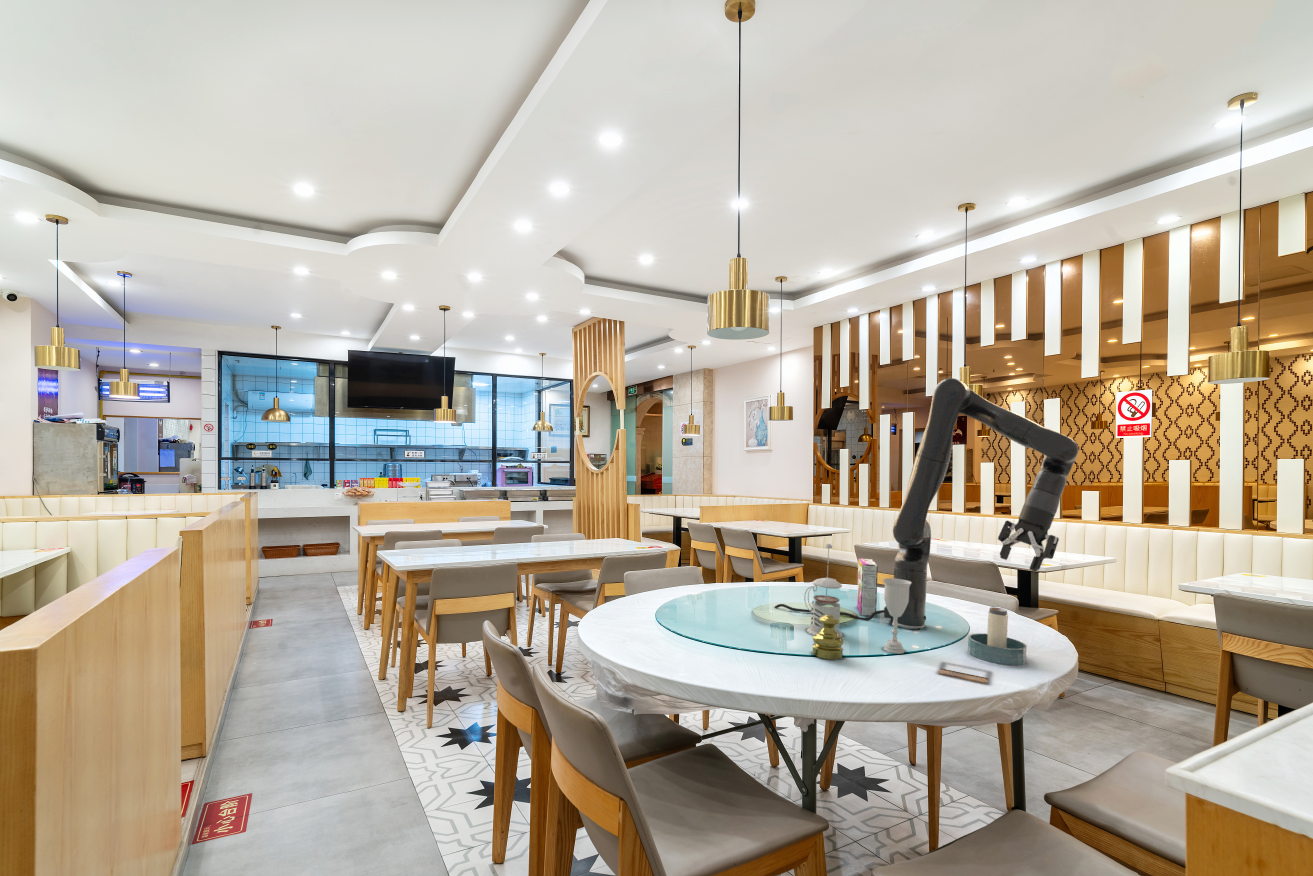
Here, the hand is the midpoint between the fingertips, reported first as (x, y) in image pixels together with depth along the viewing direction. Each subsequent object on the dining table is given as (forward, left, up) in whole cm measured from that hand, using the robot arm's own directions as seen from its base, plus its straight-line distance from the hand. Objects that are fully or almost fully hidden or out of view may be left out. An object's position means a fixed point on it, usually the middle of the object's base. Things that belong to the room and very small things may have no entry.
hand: (1017, 564), depth 166 cm
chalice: (-27, -22, -23) cm, 42 cm away
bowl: (-4, -11, -23) cm, 26 cm away
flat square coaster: (-10, -29, -23) cm, 38 cm away
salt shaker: (-40, -38, -23) cm, 60 cm away
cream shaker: (-4, -11, -23) cm, 25 cm away
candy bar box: (-42, +15, -23) cm, 50 cm away
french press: (-47, -18, -23) cm, 55 cm away
